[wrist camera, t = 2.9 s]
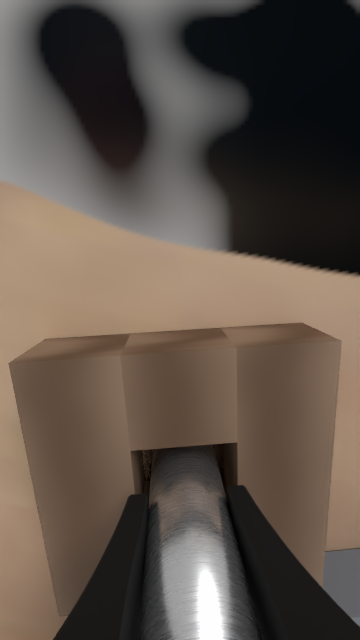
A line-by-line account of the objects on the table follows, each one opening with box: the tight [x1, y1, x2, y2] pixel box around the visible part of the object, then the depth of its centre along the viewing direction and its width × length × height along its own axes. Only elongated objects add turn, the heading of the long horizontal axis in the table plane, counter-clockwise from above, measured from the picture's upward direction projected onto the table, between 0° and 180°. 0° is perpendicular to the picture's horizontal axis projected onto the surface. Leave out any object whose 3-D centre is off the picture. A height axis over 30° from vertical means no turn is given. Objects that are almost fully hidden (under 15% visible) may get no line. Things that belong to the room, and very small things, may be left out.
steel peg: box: [139, 444, 262, 640], centre depth 10 cm, size 3×3×9 cm
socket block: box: [9, 323, 341, 616], centre depth 13 cm, size 12×12×3 cm
